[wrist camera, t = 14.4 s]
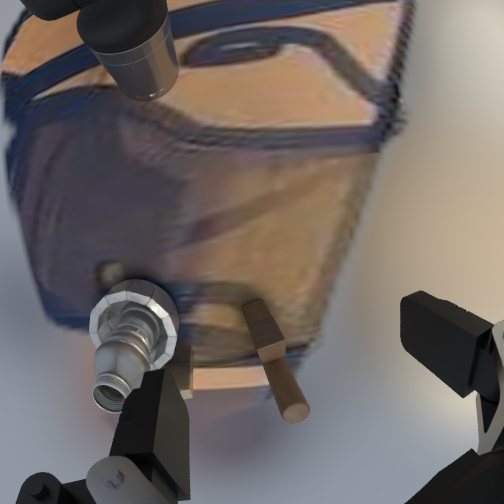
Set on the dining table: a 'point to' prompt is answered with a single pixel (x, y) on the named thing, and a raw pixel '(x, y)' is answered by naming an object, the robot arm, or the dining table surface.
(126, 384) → the plastic bottle
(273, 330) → the wooden wedge with rod
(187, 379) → the ring
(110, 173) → the dining table surface
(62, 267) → the dining table surface
